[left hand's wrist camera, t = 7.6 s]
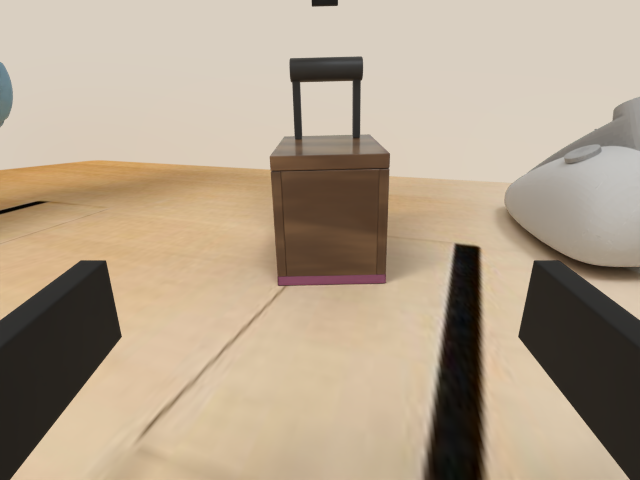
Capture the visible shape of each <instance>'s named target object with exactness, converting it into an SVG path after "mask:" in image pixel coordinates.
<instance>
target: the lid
mask: <svg viewBox="0 0 640 480" xmlns="http://www.w3.org/2000/svg"><path fill="white" fill-rule="evenodd" d="M362 77H363V59H362V57H327V58H291V59H290V79H291V82H292V84H293V106H294V129H295V136H293V137H284V138H283V139H282V141H281V142H280V143H279V145H278V146H277V148H276V149H275V150H274V152H273V153H272V154H271V156H270V167H271V171H287V170H329V169H371V168H389V164H390V153H389V152H388V151H387V150H385V149H384V148H383V147H382V146H381V145H380V144H379V143H378V142H377V141H376V140H375V139H374V138H373V137H372V136H371V135H360V84H361V83H360V82H361V80H362ZM323 81H353V135H334V136H302V121H301V95H300V82H323Z"/></svg>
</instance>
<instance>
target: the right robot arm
mask: <svg viewBox="0 0 640 480" xmlns="http://www.w3.org/2000/svg"><path fill="white" fill-rule="evenodd" d="M337 5H338V0H312V6H337ZM12 101H13V91H12V85H11V80H10V77H9V75H8V72H7V70H6V68H5V66H4V65H3V64H2V63H1V62H0V127H1V126H2V125H3V123H4V120H5V119H7V118H8V116H9V114H10V111H11V107H12Z"/></svg>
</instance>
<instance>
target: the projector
mask: <svg viewBox="0 0 640 480" xmlns="http://www.w3.org/2000/svg"><path fill="white" fill-rule="evenodd" d="M504 201H505V206H506V208H507V210H508V211H509V213H510V214H511V216H512V217H513V218H514V219H515V220H516V221H517V222H518V223H519V224H520V225H521V226H522V227H523V228H525V229H526V230H527V231H528V232H530V233H531V234H532V235H534V236H535V237H536V238H538V239H539V240H541V241H542V242H544V243H545V244H547V245H548V246H550V247H552V248H553V249H555V250H557V251H559V252H561V253H562V254H564V255H566V256H568V257H571V258H573V259H575V260H578V261H582V262H585V263H588V264H593V265H600V266H611V267H640V97H638V98H635V99H632V100H629V101H627V102H624V103H622V104H620V105H619V106H617V107H616V108H615V109H614V112H613V121H612V122H610V123H608V124H606V125H604V126H603V127H601V128H599V129H595V131H593V132H591V133H589V134H587V135H586V136H584V137H582V138H580V139H578V140H577V141H575V142H573V143H571V144H570V145H568V146H566V147H565V148H563V149H561V150H560V151H558V152H557V153H555V154H554V155H552V156H550V157H549V158H548V159H546V160H545V161H543V162H542V163H540V164H539V165H537V166H536V167H535V168H533V169H532V170H531V171H529V172H528V173H527V174H525V175H524V176H522V177H520V178H519V179H517V180H516V181H515V182H513V183H512V184H511V185H510V186H509V187H508V189H507V191H506V194H505V199H504Z"/></svg>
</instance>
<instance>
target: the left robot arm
mask: <svg viewBox="0 0 640 480" xmlns="http://www.w3.org/2000/svg"><path fill="white" fill-rule="evenodd" d="M121 337H122V336H121V331H120V326H119V321H118V317H117V312H116V307H115V302H114V297H113V292H112V288H111V283H110V278H109V273H108V268H107V263H106V261H80V262H78V263H77V264H76V265H74V266H73V267H72V268H70V269H69V270H67V271H66V272H65V273H63V274H62V275H61V276H59V277H58V278H57V279H55V280H54V281H53V282H51V283H50V284H49V285H47V286H46V287H45V288H43V289H42V290H41V291H39V292H38V293H37V294H35V295H34V296H32V297H31V298H30V299H28V300H27V301H26V302H24V303H23V304H22V305H20V306H19V307H18V308H16V309H15V310H14V311H12V312H11V313H10V314H8V315H7V316H6V317H4V318H3V319H1V320H0V480H10V479H11V478H12V476H13V475H14V474H15V473H16V471H17V470H18V469H19V467H20V466H21V465H22V464H23V462H24V461H25V460H26V459H27V457H28V456H29V455H30V453H31V452H32V451H33V450H34V448H35V447H36V446H37V444H38V443H39V442H40V441H41V439H42V438H43V437H44V435H45V434H46V433H47V432H48V430H49V429H50V428H51V427H52V425H53V424H54V423H55V421H56V420H57V419H58V418H59V416H60V415H61V414H62V412H63V411H64V410H65V409H66V407H67V406H68V405H69V404H70V402H71V401H72V400H73V398H74V397H75V396H76V395H77V393H78V392H79V391H80V389H81V388H82V387H83V386H84V384H85V383H86V382H87V380H88V379H89V378H90V377H91V375H92V374H93V373H94V372H95V370H96V369H97V368H98V366H99V365H100V364H101V363H102V361H103V360H104V359H105V357H106V356H107V355H108V354H109V352H110V351H111V350H112V348H113V347H114V346H115V345H116V343H117V342H118V341H119V340H120V338H121ZM518 337H519V338H520V340H521V341H522V342H523V343H524V345H525V346H526V347H527V349H528V350H529V351H530V352H531V354H532V355H533V356H534V357H535V359H536V360H537V361H538V363H539V364H540V365H541V366H542V368H543V369H544V370H545V372H546V373H547V374H548V375H549V377H550V378H551V379H552V380H553V382H554V383H555V384H556V386H557V387H558V388H559V389H560V391H561V392H562V393H563V395H564V396H565V397H566V398H567V400H568V401H569V402H570V404H571V405H572V406H573V407H574V409H575V410H576V411H577V412H578V414H579V415H580V416H581V418H582V419H583V420H584V421H585V423H586V424H587V425H588V427H589V428H590V429H591V430H592V432H593V433H594V434H595V435H596V437H597V438H598V439H599V441H600V442H601V443H602V444H603V446H604V447H605V448H606V450H607V451H608V452H609V453H610V455H611V456H612V457H613V459H614V460H615V461H616V462H617V464H618V465H619V466H620V467H621V469H622V470H623V471H624V473H625V474H626V475H627V476H628V478H629V479H630V480H640V320H639V319H637V318H636V317H634V316H633V315H632V314H630V313H629V312H628V311H626V310H625V309H624V308H622V307H621V306H620V305H618V304H617V303H616V302H614V301H613V300H612V299H610V298H609V297H608V296H606V295H605V294H603V293H602V292H601V291H599V290H598V289H597V288H595V287H594V286H593V285H591V284H590V283H589V282H587V281H586V280H585V279H583V278H582V277H581V276H579V275H578V274H577V273H575V272H574V271H573V270H571V269H570V268H568V267H567V266H566V265H564V264H563V263H562V262H560V261H534V263H533V268H532V273H531V278H530V283H529V288H528V292H527V297H526V302H525V307H524V312H523V317H522V321H521V326H520V331H519V336H518Z"/></svg>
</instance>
